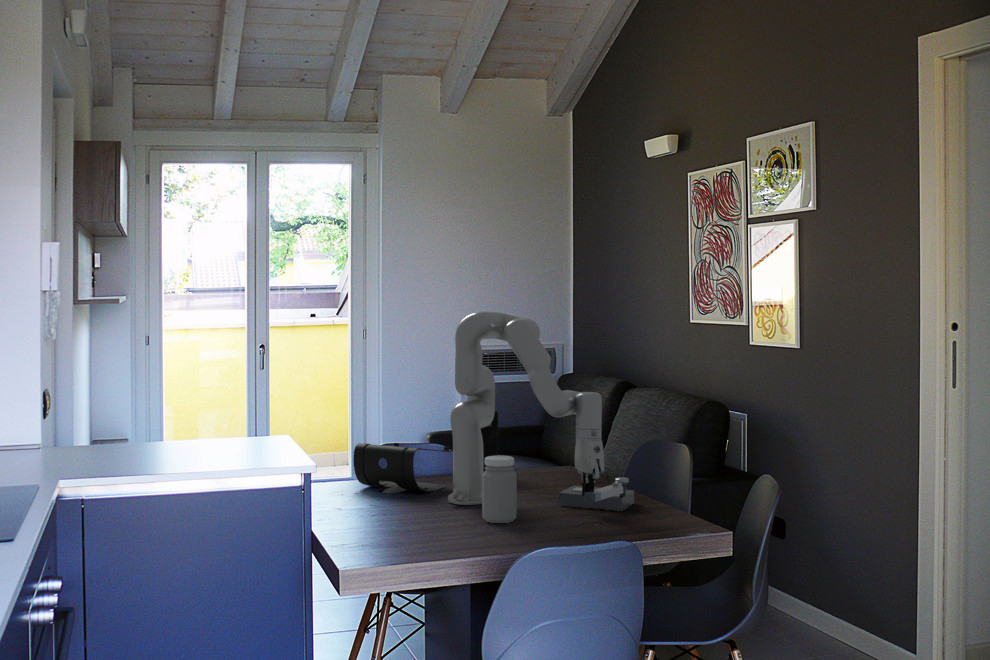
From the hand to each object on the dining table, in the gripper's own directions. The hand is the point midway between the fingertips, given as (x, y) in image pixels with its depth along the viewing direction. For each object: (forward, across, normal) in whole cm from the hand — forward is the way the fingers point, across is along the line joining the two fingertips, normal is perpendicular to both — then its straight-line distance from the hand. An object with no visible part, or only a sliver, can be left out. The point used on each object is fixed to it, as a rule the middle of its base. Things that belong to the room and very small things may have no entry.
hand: (588, 495), depth 266 cm
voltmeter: (+6, +67, +5) cm, 67 cm away
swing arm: (0, -1, -6) cm, 6 cm away
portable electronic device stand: (+6, +59, +37) cm, 70 cm away
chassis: (+5, +9, -8) cm, 13 cm away
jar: (+5, +1, +28) cm, 29 cm away
